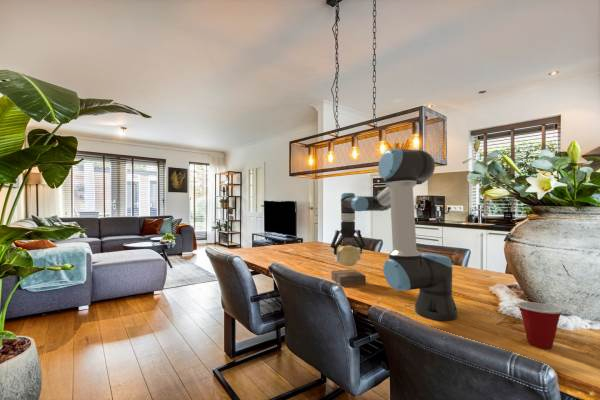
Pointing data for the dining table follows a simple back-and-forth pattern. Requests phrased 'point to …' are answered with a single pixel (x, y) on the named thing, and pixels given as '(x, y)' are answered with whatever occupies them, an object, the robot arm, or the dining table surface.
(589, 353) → the dining table surface
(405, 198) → the robot arm
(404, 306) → the dining table surface
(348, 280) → the walnut block
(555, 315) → the plastic cup
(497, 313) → the dining table surface
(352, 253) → the sculpture
